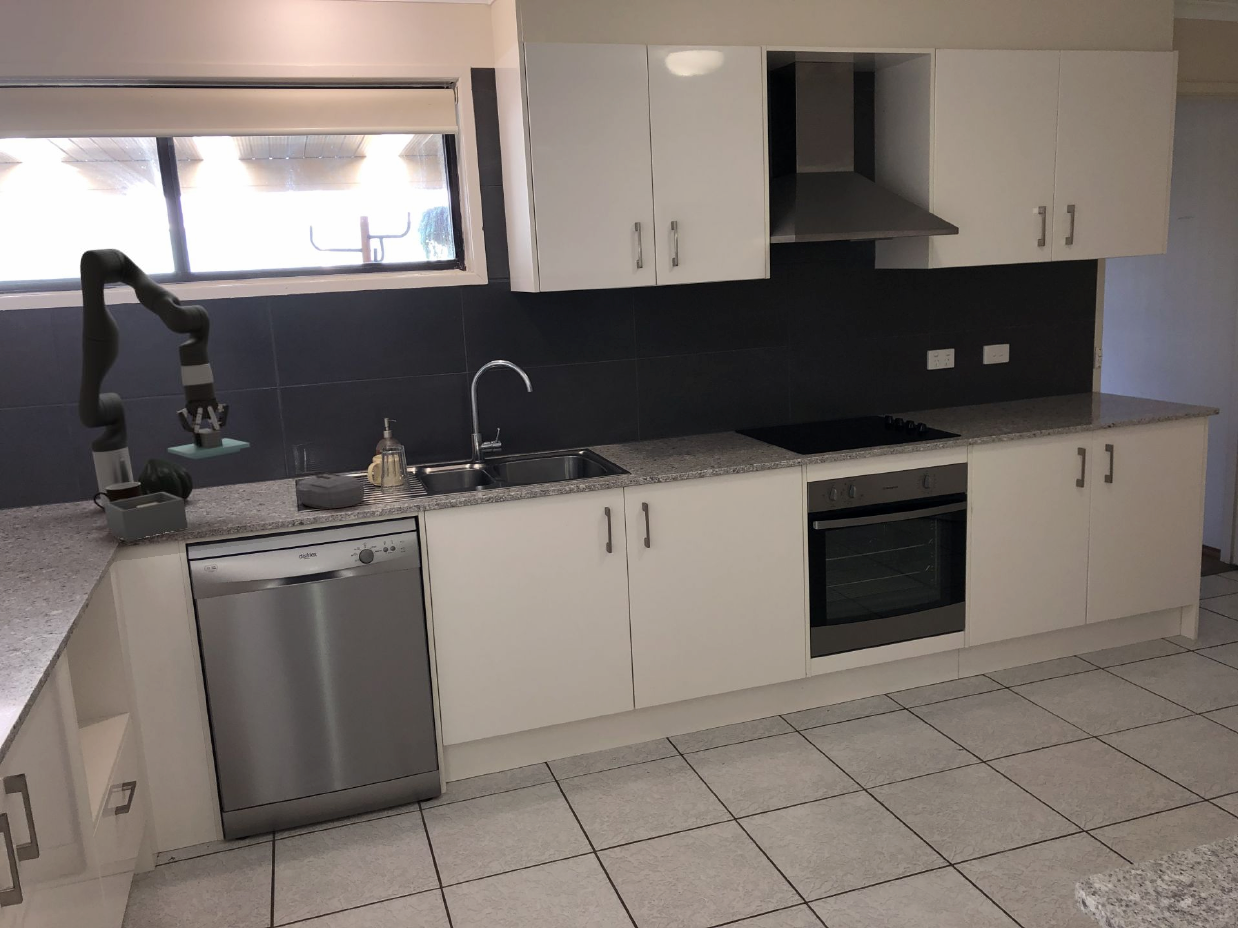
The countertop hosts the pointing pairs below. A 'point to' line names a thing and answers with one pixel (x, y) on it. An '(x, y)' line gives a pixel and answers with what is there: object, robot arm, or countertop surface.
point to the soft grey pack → (330, 491)
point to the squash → (165, 479)
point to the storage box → (145, 516)
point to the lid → (209, 445)
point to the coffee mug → (120, 492)
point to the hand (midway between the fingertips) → (208, 444)
